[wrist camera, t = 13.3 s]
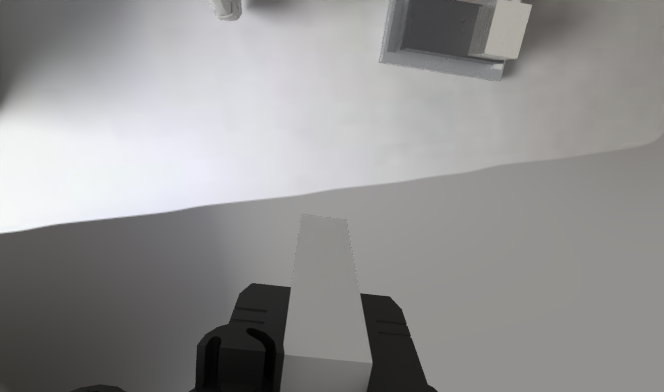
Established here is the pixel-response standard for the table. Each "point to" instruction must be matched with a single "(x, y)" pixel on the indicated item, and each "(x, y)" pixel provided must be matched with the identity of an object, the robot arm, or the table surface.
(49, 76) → the table surface
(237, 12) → the mug
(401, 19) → the breaker panel
